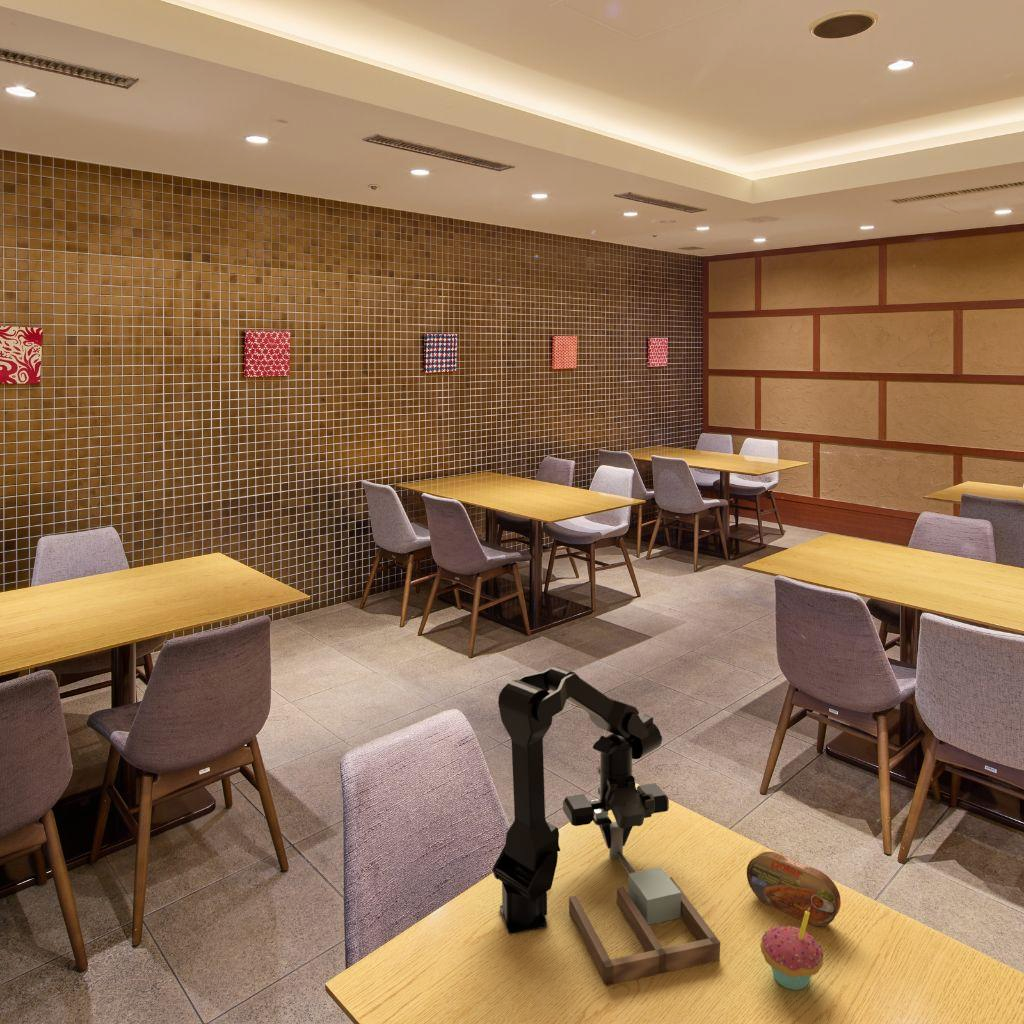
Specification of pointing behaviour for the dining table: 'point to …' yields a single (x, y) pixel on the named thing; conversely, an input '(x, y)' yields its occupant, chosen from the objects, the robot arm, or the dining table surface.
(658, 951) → the lane rack
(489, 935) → the dining table surface
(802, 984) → the cupcake
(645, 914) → the grey block with handle
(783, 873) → the tin
